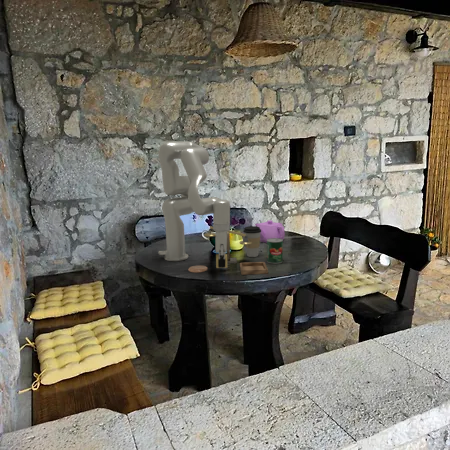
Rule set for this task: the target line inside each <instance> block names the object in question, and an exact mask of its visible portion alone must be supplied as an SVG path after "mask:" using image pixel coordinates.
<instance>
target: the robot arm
mask: <svg viewBox="0 0 450 450" xmlns="http://www.w3.org/2000/svg"><path fill="white" fill-rule="evenodd" d="M158 149H159V150H158V154H157V155H158V161H159V164H160V167H161V174H162V175H161V177H162V186H163V191H164V194H165V195H167V196H171V198H168V199H166V200H164V201H163V203H162V205H161V208H162V213H163V218H164V225H165V239H166V241H165V242H166V243H165V244H166V249H165V250H158V255H160V256H164V261H168V262H181V261H184V260H185V261H186V260H187V259H188V258H189V254H188V253H186V240H185V238H186V237H185V225H184V224H185V223H184V222H183V220H182V218H181V216H186V215H190V214H192V213H193V212H194V214H195V215H197V216H206V215H212V216H213V217H212V218H213V219H212V222H213V225H212V227H213V229H212V230H213V231H214V232H215V233H216V234H215V236H214V237H215V238H214V239H215V244H214V245H215V253H216V254H219V259H218V267H225V254H227V231H231V203H230V201H229V200H228V199H223V198H222V199H221V198H219V197H216V196H212V197H206V198H205V197H204V198H201V196H200V193H199V185H200V184H201V183H203V182H204V181H206V179H207V177H208V175H207V171H206V169H205V167H204V165H206V164H207V163H209V161H210V155H209V152H208V150H207V149H206V148H205V147H203V146H201V145H199V144H197V143H195V142H192V141H187V140H185V141H184V140H183V141H178V140H177V141H166V142H164V143H162V144H161V145H160V146H159V148H158ZM176 159H177V160H179V159H180V161H181V163H182V166H183V167H184V170H185V172H186V174H187V175H180V168H179V166H178V164H177V162H176ZM179 195H180V196H179ZM172 196H179V197H172ZM220 254H221V255H220ZM223 254H224V255H223Z"/></svg>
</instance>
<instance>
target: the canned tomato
mask: <svg viewBox="0 0 450 450" xmlns="http://www.w3.org/2000/svg"><path fill="white" fill-rule="evenodd" d="M283 247H284V240H283V239H280V238H270V239H267V243H266V262H267V263H268V264H271V265H272V264H281V263H283V262H284V261H283V260H284V248H283Z"/></svg>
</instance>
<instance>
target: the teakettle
mask: <svg viewBox="0 0 450 450" xmlns="http://www.w3.org/2000/svg"><path fill="white" fill-rule="evenodd" d="M254 226H257V227H260V229H261V232H260V243H265V244H267V239H270V238H280V239H283V241H284V239H285V237H286V234H285V226H283V223H282V222H274V221H273V220H272V219H268V220H266V221H264V222H259V223H254Z"/></svg>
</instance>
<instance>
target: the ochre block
mask: <svg viewBox="0 0 450 450" xmlns="http://www.w3.org/2000/svg"><path fill="white" fill-rule="evenodd" d="M220 255H221V254H220ZM223 255H224V254H223ZM218 259H219V253H216V254H215V265H216V266H215V267H216V269H225V268H226V269H228V264H227V253H225V267H218Z"/></svg>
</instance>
